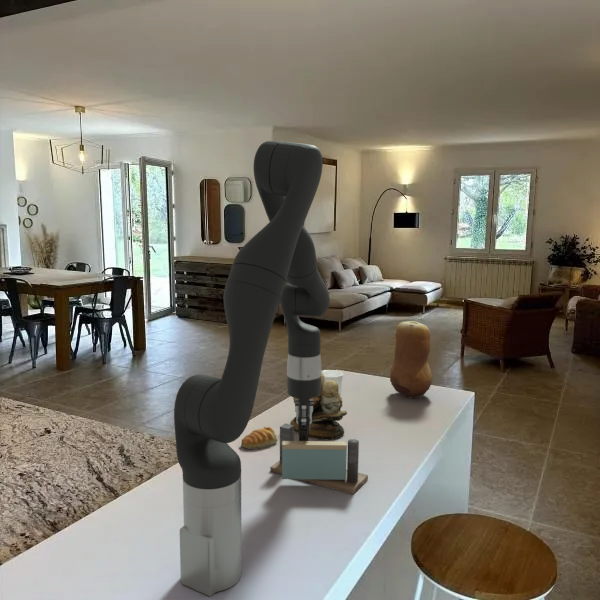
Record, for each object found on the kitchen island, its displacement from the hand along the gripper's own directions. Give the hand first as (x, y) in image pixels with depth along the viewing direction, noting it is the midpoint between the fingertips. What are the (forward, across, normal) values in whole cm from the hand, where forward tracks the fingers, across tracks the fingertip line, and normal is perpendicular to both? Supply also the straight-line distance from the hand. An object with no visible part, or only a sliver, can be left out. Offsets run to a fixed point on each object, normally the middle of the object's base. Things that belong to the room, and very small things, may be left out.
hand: (303, 447), depth 123 cm
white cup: (+9, +50, -8) cm, 51 cm away
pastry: (+8, +18, +12) cm, 23 cm away
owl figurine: (+9, +28, -4) cm, 30 cm away
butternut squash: (+10, +59, -35) cm, 69 cm away
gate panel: (+6, -3, -2) cm, 7 cm away
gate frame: (+7, +1, -3) cm, 8 cm away
